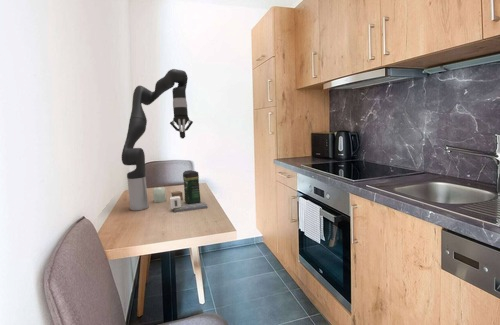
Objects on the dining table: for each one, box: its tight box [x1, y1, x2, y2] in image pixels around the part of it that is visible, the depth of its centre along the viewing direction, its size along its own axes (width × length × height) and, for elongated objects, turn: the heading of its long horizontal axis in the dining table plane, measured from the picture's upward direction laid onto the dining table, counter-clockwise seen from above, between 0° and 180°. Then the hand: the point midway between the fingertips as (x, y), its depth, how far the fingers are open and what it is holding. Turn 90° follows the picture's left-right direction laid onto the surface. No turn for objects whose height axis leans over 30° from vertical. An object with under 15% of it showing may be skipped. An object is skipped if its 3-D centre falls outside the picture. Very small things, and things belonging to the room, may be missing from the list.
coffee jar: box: [182, 169, 201, 204], centre depth 164 cm, size 10×8×19 cm
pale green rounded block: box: [152, 186, 167, 204], centre depth 171 cm, size 7×7×8 cm
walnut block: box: [171, 190, 184, 201], centre depth 171 cm, size 5×5×5 cm
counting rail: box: [172, 202, 208, 213], centre depth 151 cm, size 8×17×2 cm, turn 108°
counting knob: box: [169, 196, 182, 210], centre depth 148 cm, size 6×5×5 cm
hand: (182, 138), depth 159 cm, fingers closed
